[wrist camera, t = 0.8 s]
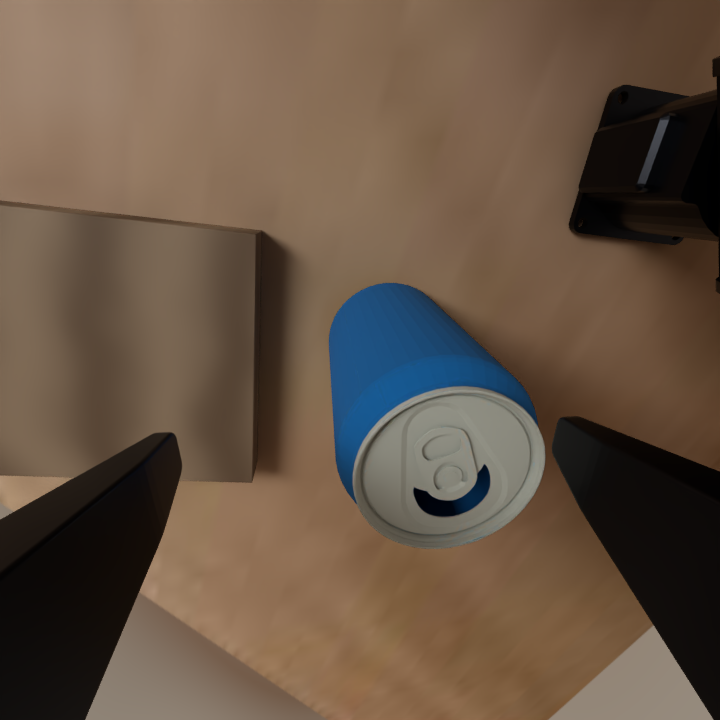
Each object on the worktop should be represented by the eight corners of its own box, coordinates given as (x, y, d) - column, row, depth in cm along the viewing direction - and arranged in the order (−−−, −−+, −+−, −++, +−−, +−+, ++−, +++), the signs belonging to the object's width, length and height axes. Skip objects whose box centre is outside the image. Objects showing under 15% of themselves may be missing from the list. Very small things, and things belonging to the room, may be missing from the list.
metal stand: (261, 230, 19) (255, 234, 17) (257, 461, 24) (252, 482, 23) (-58, 194, 17) (-103, 194, 15) (12, 452, 23) (-15, 474, 21)
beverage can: (350, 401, 23) (377, 583, 12) (311, 303, 21) (301, 423, 10) (451, 366, 23) (571, 521, 12) (425, 262, 21) (546, 340, 10)
